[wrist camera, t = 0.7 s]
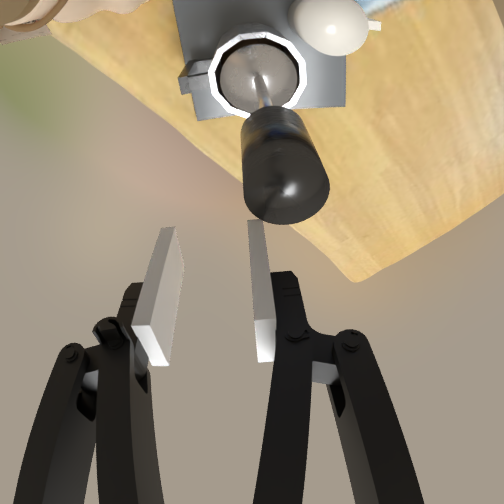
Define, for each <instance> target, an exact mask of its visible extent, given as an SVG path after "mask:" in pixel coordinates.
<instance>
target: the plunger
mask: <svg viewBox="0 0 504 504" xmlns="http://www.w3.org/2000/svg"><path fill="white" fill-rule="evenodd" d="M220 84H221V89H222V91H223V94H224V95H225V97H226V98H227V100H228V101H229V102H230V103H231V104H232V105H233V106H235V107H236V108H238V109H240V110H242V111H245V112H248V113H252V114H250V115H249V116H248V117H247V119H246V120H245V122H244V123H243V126H242V129H241V152H242V172H243V190H244V200H245V203H246V205H247V207H248V208H249V210H250V211H251V212H252V214H254V215H255V216H256V217H258V218H259V219H261V220H263V221H265V222H268V223H272V224H279V225H288V224H294V223H298V222H301V221H304V220H306V219H308V218H310V217H312V216H313V215H314V214H316V213H317V212H318V211H319V210H320V209H321V208H322V207H323V206H324V204H325V202H326V200H327V198H328V195H329V190H330V184H329V179H328V176H327V174H326V171H325V169H324V167H323V165H322V162H321V160H320V158H319V155H318V153H317V151H316V149H315V146H314V144H313V142H312V140H311V138H310V136H309V133H308V131H307V129H306V127H305V125H304V123H303V121H302V119H301V118H300V117H299V115H298V114H297V113H295V112H294V111H292V110H291V109H289V108H286V107H283V105H284V104H285V103H287V102H288V101H289V99H290V98H291V97H292V95H293V93H294V91H295V89H296V85H297V72H296V69H295V66H294V64H293V63H292V61H291V60H290V58H289V57H288V56H287V55H286V54H285V53H284V52H283V51H281V50H280V49H278V48H276V47H274V46H271V45H267V44H250V45H246V46H243V47H241V48H239V49H237V50H236V51H234V52H233V53H232V54H231V55H230V56H229V57H228V58H227V59H226V61H225V63H224V65H223V67H222V70H221V75H220Z"/></svg>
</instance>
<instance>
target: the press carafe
mask: <svg viewBox="0 0 504 504" xmlns="http://www.w3.org/2000/svg"><path fill="white" fill-rule="evenodd" d="M250 44H267V45H271V46H274V47H276V48H278V49H280V50H281V51H283V52H284V53H285V54H286V55H287V56H288V57H289V58H290V60H291V61H292V63H293V64H294V66H295V69H296V72H297V85H296V89H295V91H294V93H293V95H292V97H291V98H290V99H289V101H288V102H287V103H285V104H284V105H283V107H286V108H290V107H292V106H293V105H295V104H296V102H297V100H298V98H299V96H300V95H301V93H302V91H303V89H304V88H305V86H306V70H305V61H304V60H303V58H302V57H301V55H300V54H299V53H298V51H297V50H296V49H295V47H294V46H293V44H292V43H291V42H290V41H289V40H288V39H287V38H285V37H284V36H283V35H282V34H281V33H280V32H278V31H277V30H276V29H274V28H271V27H269V26H267V25H264V24H262V23H259V22H253V23H243V24H237V25H236V26H234V27H233V28H231V29H230V30H228V31H227V32H226V33H224V34H223V35H222V36H221V38H220V41H219V43H218V45H217V47H216V50H215V52H214V55H213V58H207V59H202V60H197V59H194V60H189V61H188V63H187V64H186V66H185V67H184V69H183V70H182V72H181V74H180V75H179V77H178V81H179V86H180V90H181V94H182V95H183V94H188V93H191V91H195V90H200V89H206V88H211V91H212V95H213V96H214V97H215V98H216V99H217V100H218V101H219V102H220V103H221V105H222V106H223V107H224V108H225V109H226V110H227V111H228V112H230V113H233V114H236V115H239V116H242V117H245V118H247V117H248V116H249V115H250V114H252V113H248V112H245V111H242V110H240V109H238V108H236V107H235V106H233V105H232V104H231V103H230V102H229V101H228V100H227V98H226V97H225V95H224V94H223V91H222V89H221V84H220V75H221V70H222V67H223V65H224V63H225V61H226V59H227V58H228V57H229V56H230V55H231V54H232V53H233V52H234V51H236V50H237V49H239V48H241V47H243V46H246V45H250ZM207 71H208V72H207ZM201 72H205V73H201Z"/></svg>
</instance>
